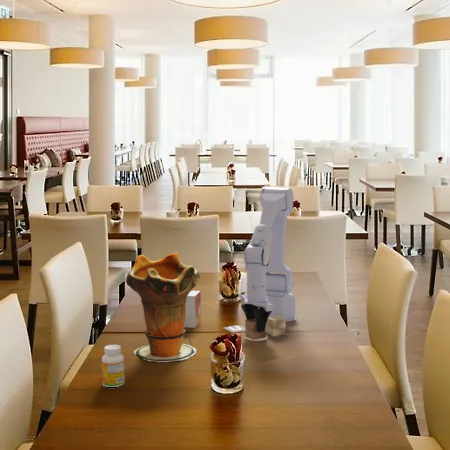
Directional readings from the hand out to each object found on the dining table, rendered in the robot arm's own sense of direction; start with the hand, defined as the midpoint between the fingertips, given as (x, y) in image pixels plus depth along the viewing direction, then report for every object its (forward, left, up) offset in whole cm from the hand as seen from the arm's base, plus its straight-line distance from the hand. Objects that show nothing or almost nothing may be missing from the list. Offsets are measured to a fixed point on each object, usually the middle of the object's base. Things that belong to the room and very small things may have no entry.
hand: (256, 329), depth 210 cm
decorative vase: (+29, -2, -3) cm, 30 cm away
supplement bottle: (+51, +14, -3) cm, 53 cm away
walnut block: (0, 0, -2) cm, 2 cm away
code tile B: (-7, 0, -3) cm, 8 cm away
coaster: (0, 0, -3) cm, 3 cm away
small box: (+10, -23, -3) cm, 25 cm away
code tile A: (0, -11, -3) cm, 11 cm away
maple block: (-7, 0, -2) cm, 7 cm away
